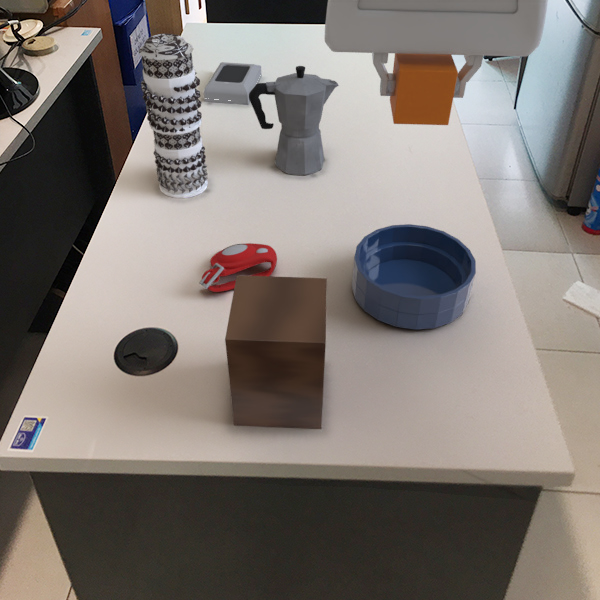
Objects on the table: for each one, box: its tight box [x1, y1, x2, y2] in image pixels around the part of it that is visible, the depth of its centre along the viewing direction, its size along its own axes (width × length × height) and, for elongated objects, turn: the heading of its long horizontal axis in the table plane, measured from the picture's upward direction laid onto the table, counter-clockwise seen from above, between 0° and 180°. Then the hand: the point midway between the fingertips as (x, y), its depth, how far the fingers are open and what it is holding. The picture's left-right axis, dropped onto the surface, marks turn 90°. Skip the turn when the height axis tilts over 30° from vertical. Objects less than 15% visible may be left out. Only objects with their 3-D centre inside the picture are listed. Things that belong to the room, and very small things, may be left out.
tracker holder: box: [199, 242, 278, 293], centre depth 91 cm, size 12×4×10 cm
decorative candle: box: [138, 33, 209, 199], centre depth 102 cm, size 9×9×25 cm
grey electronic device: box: [203, 61, 262, 106], centre depth 139 cm, size 10×4×15 cm
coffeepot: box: [249, 65, 340, 176], centre depth 110 cm, size 15×9×18 cm, turn 101°
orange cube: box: [389, 53, 459, 126], centre depth 63 cm, size 6×6×6 cm
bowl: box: [351, 223, 477, 330], centre depth 87 cm, size 16×16×6 cm
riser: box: [224, 274, 328, 430], centre depth 71 cm, size 10×10×14 cm
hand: (421, 94), depth 64 cm, fingers closed on orange cube, 5 cm apart
